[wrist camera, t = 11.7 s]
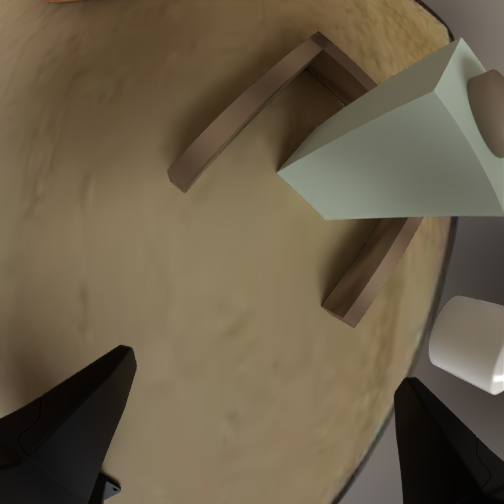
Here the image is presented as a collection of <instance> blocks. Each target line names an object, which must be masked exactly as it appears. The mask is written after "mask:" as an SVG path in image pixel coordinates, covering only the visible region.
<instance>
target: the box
mask: <svg viewBox="0 0 504 504" xmlns="http://www.w3.org/2000/svg"><path fill="white" fill-rule="evenodd" d="M305 69H306V70H308V71H309V72H310V73H311V74H312V75H313V76H315V77H316V78H317V79H318V80H319V81H320V82H321V83H323V84H324V85H325V86H326V87H327V88H328V89H329V90H330V91H331V92H332V93H333V94H334V95H336V96H337V97H338V98H339V99H340V100H341V101H342V102H343V103H344V104H345V105H346V106H348V105H349V104H351V103H352V102H354V101H355V100H357V99H358V98H360V97H361V96H363V95H364V94H366V93H367V92H369V91H370V90H372V89H374V88H375V87H377V86H378V85H377V84H376V83H375V82H374V81H373V80H372V79H371V78H370V77H369V76H368V75H367V74H366V73H365V72H364V71H363V70H362V69H361V68H360V67H359V66H358V65H357V64H356V63H355V62H353V61H352V60H351V59H350V58H349V57H348V56H347V55H346V54H345V53H344V52H342V51H341V50H340V49H339V48H338V47H337V46H336V45H334V44H333V43H332V42H331V41H330V40H328V39H327V38H326V37H325V36H324V35H322V34H321V33H320V32H319V31H318V32H317V33H315V34H314V35H313V36H311V37H310V38H308V39H307V40H306V41H304V42H303V43H302V44H301V45H299V46H298V47H297V48H295V49H294V50H293V51H292V52H290V53H289V54H288V55H286V56H285V57H284V58H283V59H282V60H280V61H279V62H278V63H277V64H275V65H274V66H273V67H272V68H271V69H269V70H268V71H267V72H266V73H265V74H264V75H262V76H261V77H260V78H259V79H258V80H257V81H256V82H254V83H253V84H252V85H251V86H250V87H249V88H248V89H247V90H246V91H244V92H243V93H242V94H241V95H240V96H239V97H238V98H237V99H236V100H235V101H234V102H233V103H232V104H231V105H230V106H228V107H227V108H226V109H225V110H224V111H223V112H222V113H221V114H220V115H219V116H218V117H217V118H216V119H215V120H214V121H213V122H212V123H211V124H210V125H209V126H208V127H207V128H206V129H205V130H204V131H203V132H202V133H201V134H200V136H199V137H198V138H197V139H196V140H195V141H194V142H193V143H192V144H191V145H190V146H189V147H188V148H187V149H186V150H185V152H184V153H183V154H182V155H181V156H180V157H179V158H178V159H177V160H176V162H175V163H174V164H173V165H172V166H171V167H170V168H169V170H168V171H167V173H168V176H169V180H170V182H172V183H173V184H174V185H175V186H176V187H178V188H179V189H180V190H181V191H183V192H184V193H186V192H187V191H188V189H189V188H190V187H191V186H192V185H193V184H194V182H195V181H196V180H197V179H198V178H199V177H200V175H201V174H202V173H203V172H204V171H205V170H206V169H207V168H208V166H209V165H210V164H211V163H212V162H213V161H214V160H215V159H216V157H217V156H218V155H219V154H220V153H221V152H222V151H223V150H224V149H225V148H226V147H227V145H228V144H229V143H230V142H231V141H232V140H233V139H234V138H235V137H236V136H237V135H238V134H239V133H240V132H241V131H242V130H243V129H244V128H245V127H246V126H247V125H248V123H249V122H250V121H251V120H252V119H253V118H254V117H255V116H256V115H257V114H258V113H259V112H260V111H261V110H262V109H263V108H264V107H265V106H266V105H267V104H269V103H270V102H271V101H272V100H273V99H274V98H275V97H276V96H277V95H278V94H279V93H280V92H281V91H282V90H283V89H284V88H285V87H286V86H287V85H289V84H290V83H291V82H292V81H293V80H294V79H295V78H296V77H297V76H298V75H299V74H301V73H302V72H303V71H304V70H305ZM422 219H423V217H392V218H381V220H380V222H379V223H378V225H377V226H376V228H375V229H374V231H373V233H372V234H371V236H370V237H369V239H368V240H367V242H366V243H365V245H364V246H363V248H362V249H361V251H360V252H359V254H358V255H357V257H356V258H355V260H354V261H353V263H352V264H351V265H350V267H349V268H348V270H347V271H346V273H345V274H344V275H343V277H342V278H341V280H340V281H339V282H338V284H337V285H336V287H335V288H334V289H333V291H332V292H331V293H330V295H329V296H328V298H327V299H326V300H325V302H324V303H323V304H322V306H321V307H323V308H324V309H325V310H326V311H327V312H329V313H330V314H331V315H332V316H334V317H336V318H338V319H339V320H341V321H343V322H345V323H346V324H348V325H350V326H352V327H353V328H355V327H356V325H357V324H358V323H359V321H360V320H361V318H362V317H363V316H364V314H365V313H366V311H367V310H368V308H369V307H370V305H371V304H372V303H373V301H374V300H375V298H376V297H377V295H378V294H379V292H380V291H381V289H382V287H383V286H384V284H385V283H386V281H387V280H388V278H389V277H390V275H391V273H392V272H393V270H394V268H395V267H396V265H397V264H398V262H399V260H400V259H401V257H402V255H403V253H404V252H405V250H406V248H407V247H408V245H409V243H410V241H411V240H412V238H413V236H414V234H415V232H416V231H417V229H418V227H419V225H420V223H421V221H422Z"/></svg>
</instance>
